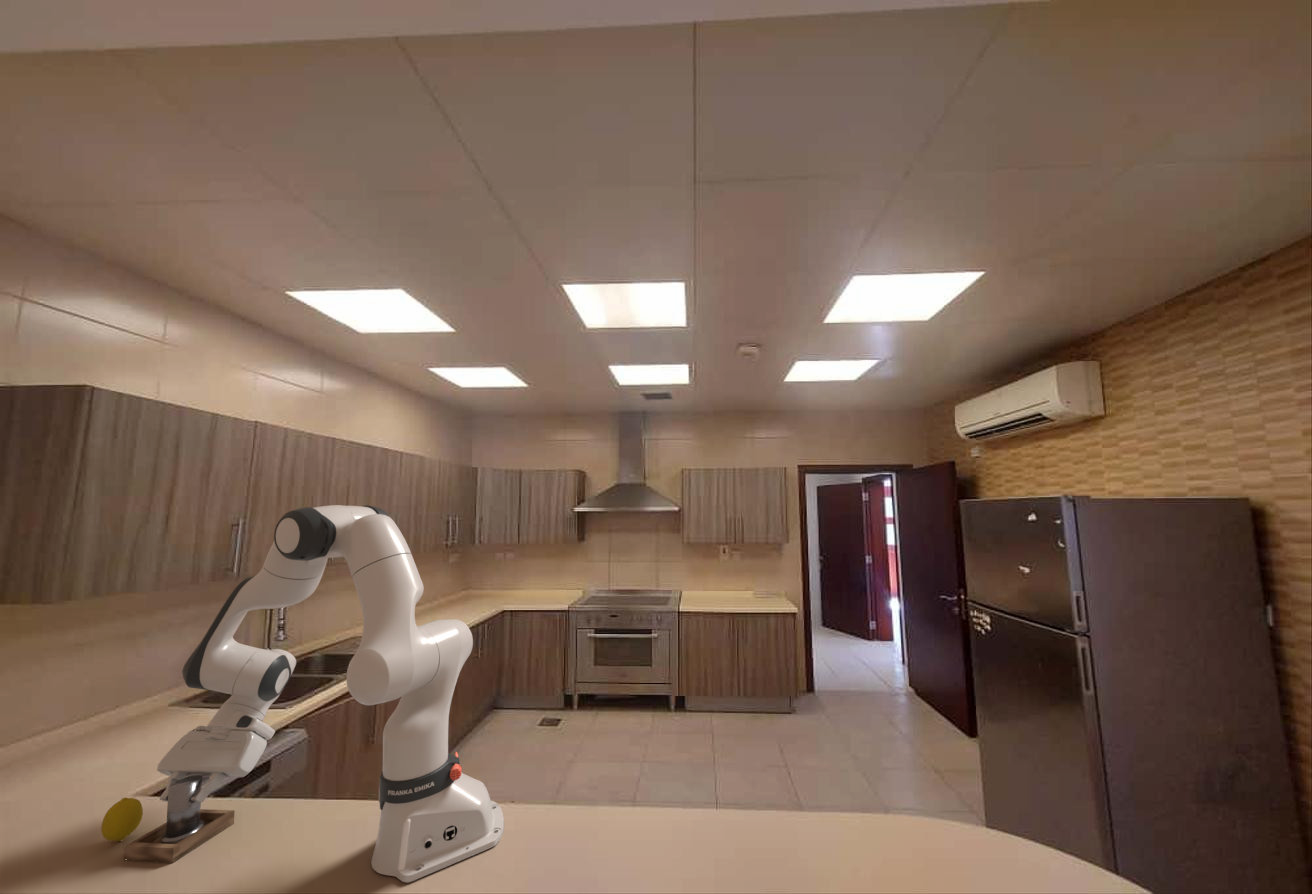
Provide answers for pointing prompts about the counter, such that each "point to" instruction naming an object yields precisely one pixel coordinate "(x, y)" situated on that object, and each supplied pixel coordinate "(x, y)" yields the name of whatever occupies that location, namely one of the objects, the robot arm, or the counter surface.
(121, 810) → the lemon
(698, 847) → the counter surface
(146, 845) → the tray
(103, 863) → the counter surface
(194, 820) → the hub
